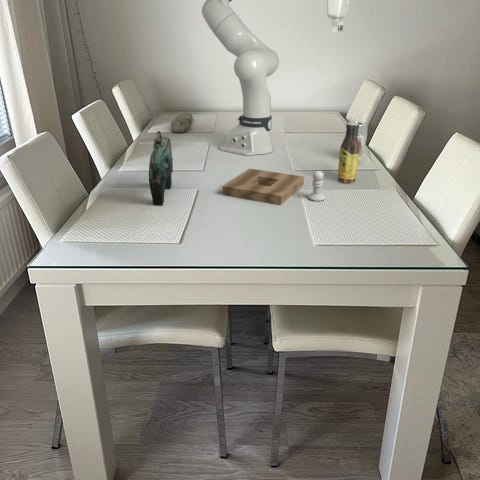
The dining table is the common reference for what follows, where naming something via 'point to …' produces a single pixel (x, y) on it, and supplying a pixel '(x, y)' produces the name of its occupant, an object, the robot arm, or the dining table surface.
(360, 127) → the beer glass
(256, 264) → the dining table surface
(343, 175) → the sauce bottle
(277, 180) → the walnut board
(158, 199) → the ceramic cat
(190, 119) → the long grey stone
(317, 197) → the chess piece
